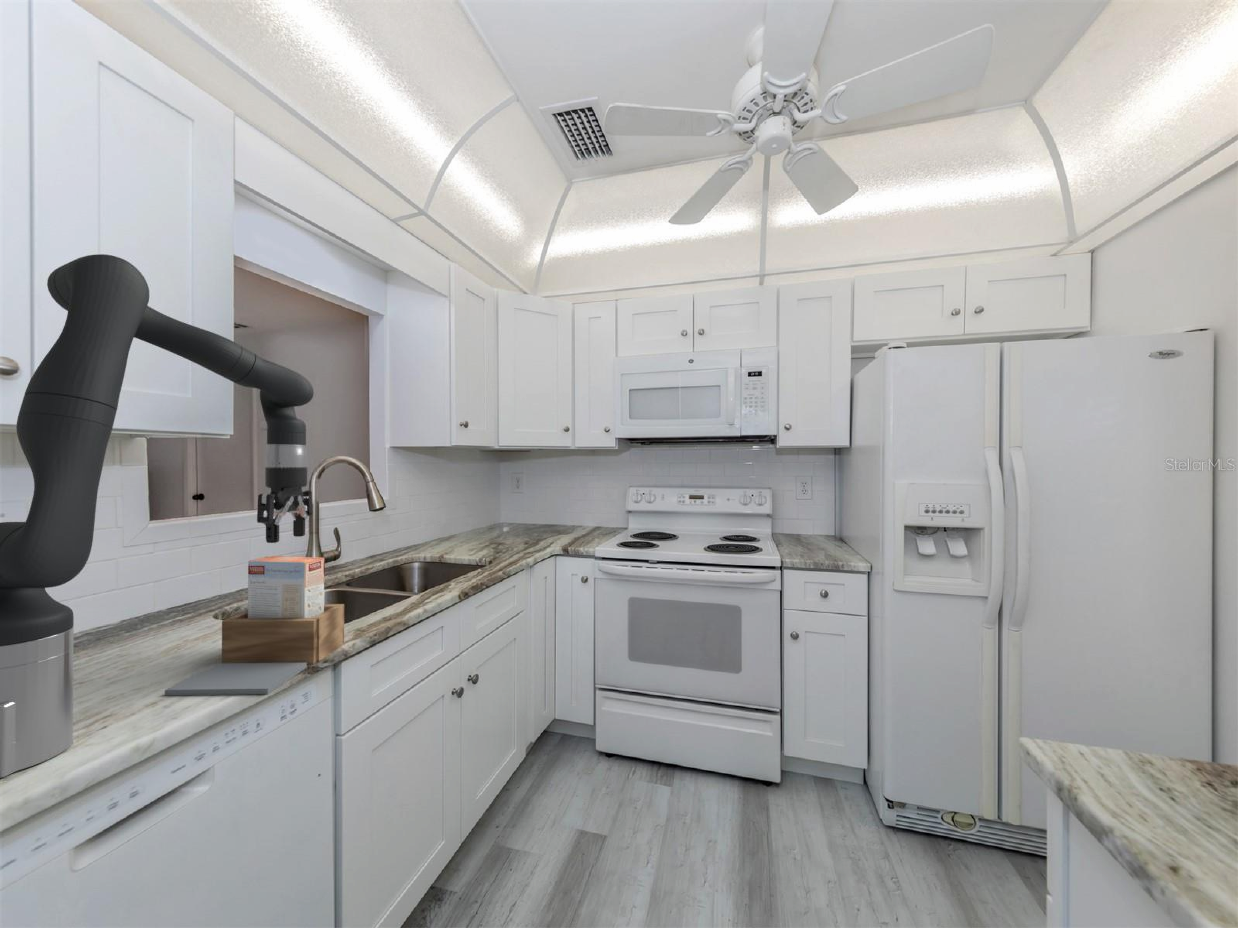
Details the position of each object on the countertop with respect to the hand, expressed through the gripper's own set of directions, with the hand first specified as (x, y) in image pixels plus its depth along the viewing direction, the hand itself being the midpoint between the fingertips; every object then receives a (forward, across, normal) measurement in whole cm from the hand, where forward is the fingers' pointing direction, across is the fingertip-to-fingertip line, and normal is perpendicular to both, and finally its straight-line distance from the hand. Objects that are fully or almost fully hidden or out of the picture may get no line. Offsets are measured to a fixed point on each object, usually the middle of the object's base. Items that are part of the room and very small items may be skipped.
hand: (286, 539), depth 102 cm
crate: (+25, 0, 0) cm, 25 cm away
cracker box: (+25, 0, 0) cm, 25 cm away
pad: (+25, -13, 0) cm, 28 cm away
